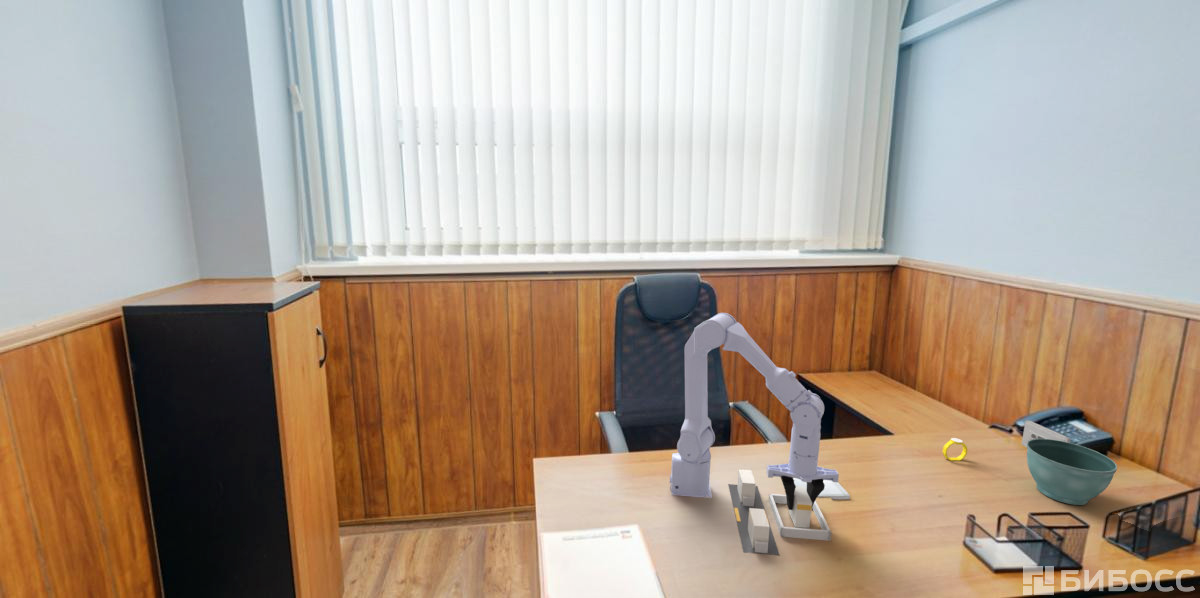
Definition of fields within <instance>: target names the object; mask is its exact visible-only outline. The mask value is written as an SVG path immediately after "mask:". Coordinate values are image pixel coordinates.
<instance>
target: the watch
mask: <svg viewBox="0 0 1200 598" xmlns="http://www.w3.org/2000/svg"><path fill="white" fill-rule="evenodd" d="M954 444H955V445H961V446H962V451H961V454H960V455H958V456H957V457H948V453H947V452H948V450H949V448H950V447H951V446H952V445H954ZM967 454H968V446H967V445H966V444H965V443H964V442H963V440H962V439H960V438H956V437H952V438H950V440H948V441H947V442H946V443H945V444H944V445H943V447H942V455H943V456H944V458H945V459H947V460H948V461H949V462H951V461H952V462H953V461H955V462H961V461H963V459H965V457H966V456H967Z"/></svg>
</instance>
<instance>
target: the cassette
mask: <svg viewBox="0 0 1200 598" xmlns="http://www.w3.org/2000/svg"><path fill="white" fill-rule="evenodd" d="M1032 439H1052V440H1059V441H1064V442H1068V443H1071V438H1070V437H1068V436H1065V435H1063V434H1061V433H1059V432H1056V431H1054V430H1052V429H1051V428H1048V427H1045V426H1044V425H1041V424H1038V423H1036V422H1034V421H1032V420H1025V423H1024V428H1023V434H1022V438H1021V446H1023V447H1026V449H1027V442H1028V441H1029V440H1032Z"/></svg>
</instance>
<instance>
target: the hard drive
mask: <svg viewBox="0 0 1200 598" xmlns="http://www.w3.org/2000/svg"><path fill="white" fill-rule="evenodd" d="M793 479H794V484H795V486H797V487H805V489H806V491H807V482H803V481H801V479H797V478H793ZM823 483H824V485H825V487H824V490H823V491H822V492H821V493H820V494H819V495H818V497H817V498H830V499H831V500H850V498H851V495H850V494H849V493H848V491H847V490H846V489H845V488H844V487H843V486H842V485H841V484H840V483H839V481H838V482H833V481H832V480H823Z"/></svg>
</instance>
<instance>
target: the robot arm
mask: <svg viewBox="0 0 1200 598" xmlns="http://www.w3.org/2000/svg"><path fill="white" fill-rule="evenodd" d="M722 345H723V347H722V350H723V351H730V352H735V353H739V354H740V355H741V356H742V357H743V358H744V359H745V360H746V361H748V362H749V364H750V365H751V366H753V367H754V368H755V369H756V370H757V372H759V373H760V374H761V375H762V377H764V379H765V386H766V388H767V389H768V390H769V391H770V392H771V393H772V395H774V396H775V397H776V398H777V400H778V401H779V402H781V404H782V405H783V406H784V407H785V408H786V409H787V410H788V411H789V412H790V413H789V414H790V418H791V421H792V428H791V435H790V447H789V456H788V463H782V464H781V463H780V464H779V463H778V464H768V465H767V464H766V471H765V472H766V473H765V474H766V475H767V478H771V479H772V478H774V477H777V478H778V477H779V478H780V479H781V482H782V485H783V488H784V491H785V492H784V493H785V495H786V498H787V504H786V506H787V510H788V509H789V510H792V509H793V497H794V492H795V488H796V486H795V484H794V479H793V478H797V479H801V481H803V482H807V493H808V495H809V497H810V499H811V501H812V506H813V504H814V502H815V500H816V501H817V499H818V498H819V497H818V495H819V494H820V493H821V492H822V491H823V490H824V487H825V485H824V483H823V480H832V481H833V482H838V483H839V477H840V476H839V475H840V474H839V472H838V471H837V469H834V468H832V469H831V468H825V467H822V466H818V463H819V453H820V442H821V436H822V435H821V429H822V426H821V423H822V417H823V416H824V412H825V404H824V402H823V400H822V399H821V397H820V396H819V395H818V394H817V393H813V392H812V391H811V390H810V389H808V390H807V388H805V386H804V385H803V384H802V383H801V382H799V380H798V379H797V378H796V376H797V374H796V373H795V372H794V371H793V370H791V371H789V370H788V369H787V368H785V367H778V366H776V364H775V363H774V362H773V361H772V360H771V359H770V357H769V356H768V355H767V354H766V353H765V352H764V350H763V349H762V348H761V347H760V346H759V345H758V343H757V342H756V341H755V340H754V339H753V337H751V336H750V334H749V333H748V332H747V330H746V328H744V326H743V324H741V323H740V322H738V321H737V320H736V319H735V317H734V316H732V315H731V314H730V313H727V312H719V313H716V314H715V315H713V316H712V317H710V318H709V319H706V320H704V321H702V322H701V323H700V324H698V325H697V326H696V327H694V329H693V332H692V333H691V335H690V337H689V339H687V342H686V343H685V345H684V348H683V349H684V421H683V423H682V426H681V429H680V437H679V439H678V441H677V445H676V449H677V452H675V453H672V454H671V471H670V472H671V473H670V476H669V483H670V489H671V490H670V491H671V495H673V496H684V497H693V498H694V497H695V498H709V499H710V498H711V499H712V498H713V494H712V490H711V482H710V475H711V458H712V454H711V451H710V447H711V446H713V444H714V443H715V440H716V435H715V431H714V430H713V428H712V420H711V418H709V417H708V415H709V414H708V402H709V401H708V396H709V395H708V394H709V393H708V353H710V351H712V350H714V349H717V348H719V347H721V346H722Z"/></svg>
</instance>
